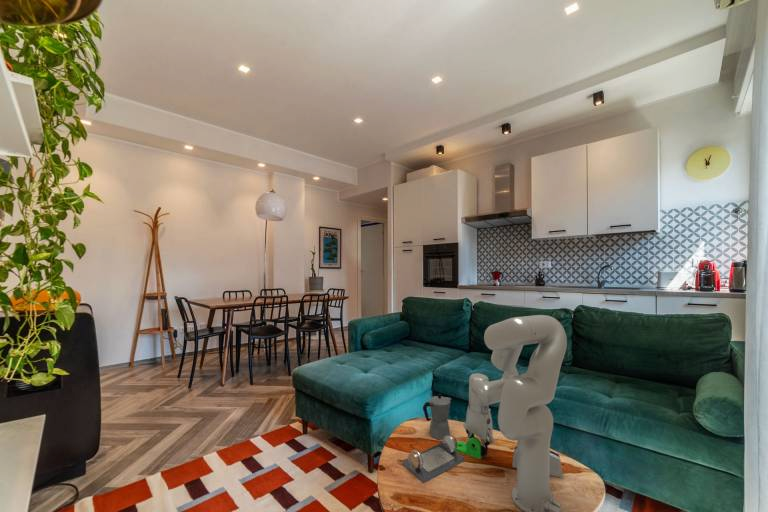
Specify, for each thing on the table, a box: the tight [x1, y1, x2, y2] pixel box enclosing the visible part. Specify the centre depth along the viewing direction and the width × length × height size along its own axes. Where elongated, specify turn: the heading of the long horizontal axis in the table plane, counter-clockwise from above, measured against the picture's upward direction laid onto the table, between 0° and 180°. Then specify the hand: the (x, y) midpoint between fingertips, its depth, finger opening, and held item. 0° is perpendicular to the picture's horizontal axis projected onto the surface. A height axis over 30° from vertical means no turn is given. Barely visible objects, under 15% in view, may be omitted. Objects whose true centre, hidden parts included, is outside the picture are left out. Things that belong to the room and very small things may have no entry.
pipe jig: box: [402, 434, 465, 483], centre depth 124 cm, size 21×12×8 cm, turn 125°
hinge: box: [511, 444, 564, 479], centre depth 119 cm, size 17×5×10 cm, turn 70°
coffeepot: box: [422, 393, 452, 441], centre depth 144 cm, size 15×9×18 cm, turn 117°
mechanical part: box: [455, 436, 483, 460], centre depth 132 cm, size 12×6×8 cm, turn 55°
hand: (478, 450), depth 129 cm, fingers open, 5 cm apart
